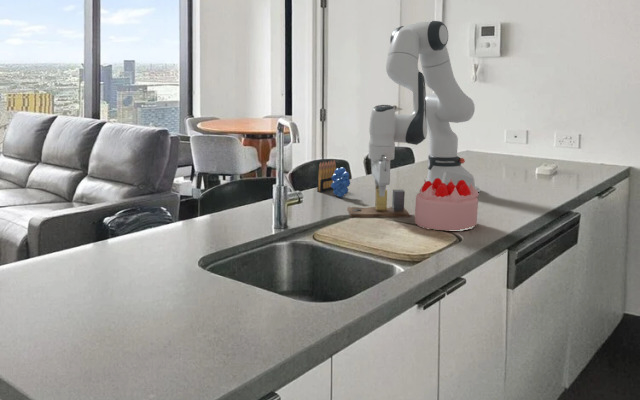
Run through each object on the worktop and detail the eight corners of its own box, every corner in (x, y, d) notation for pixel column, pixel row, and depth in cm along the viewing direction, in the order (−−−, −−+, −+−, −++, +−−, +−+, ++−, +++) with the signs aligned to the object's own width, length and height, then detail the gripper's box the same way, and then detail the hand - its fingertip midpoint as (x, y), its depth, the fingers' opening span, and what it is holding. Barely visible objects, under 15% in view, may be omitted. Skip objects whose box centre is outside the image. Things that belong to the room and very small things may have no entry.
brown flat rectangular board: (403, 209, 230) (403, 206, 230) (409, 216, 220) (409, 213, 219) (347, 209, 229) (347, 206, 229) (350, 217, 219) (350, 213, 218)
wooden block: (385, 208, 226) (385, 189, 225) (386, 210, 223) (387, 191, 221) (375, 208, 226) (375, 189, 225) (376, 210, 223) (377, 191, 221)
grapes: (358, 199, 247) (358, 168, 245) (343, 200, 244) (343, 169, 241) (341, 193, 257) (342, 163, 254) (327, 195, 254) (327, 164, 251)
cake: (413, 216, 220) (415, 175, 217) (473, 218, 219) (475, 177, 216) (416, 231, 201) (418, 186, 198) (481, 233, 200) (484, 188, 197)
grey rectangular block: (402, 209, 227) (402, 189, 225) (403, 211, 223) (404, 191, 222) (392, 209, 226) (392, 189, 225) (393, 211, 223) (394, 191, 221)
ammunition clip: (320, 192, 259) (320, 162, 257) (317, 191, 260) (317, 162, 258) (337, 188, 267) (337, 159, 265) (333, 188, 268) (334, 159, 266)
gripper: (395, 157, 210) (393, 199, 213) (386, 149, 230) (384, 188, 233) (376, 157, 210) (374, 199, 213) (368, 149, 230) (367, 187, 233)
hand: (379, 193), depth 223 cm, fingers open, 8 cm apart
